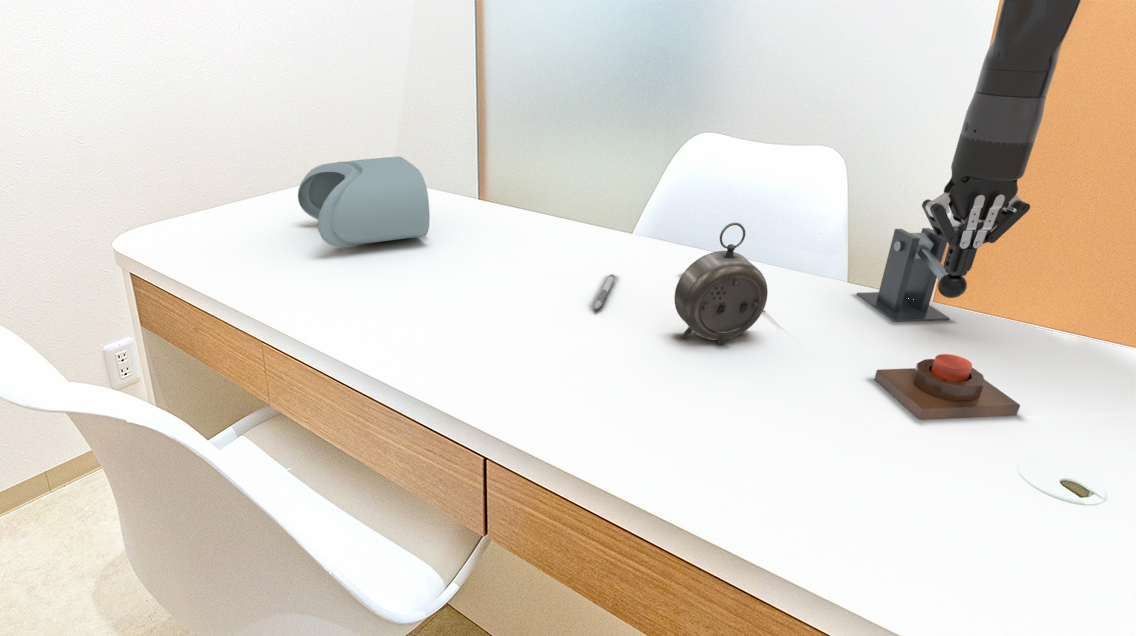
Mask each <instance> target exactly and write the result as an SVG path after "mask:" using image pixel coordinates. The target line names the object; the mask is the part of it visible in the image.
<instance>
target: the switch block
mask: <svg viewBox="0 0 1136 636" xmlns="http://www.w3.org/2000/svg"><path fill="white" fill-rule="evenodd" d="M934 359H935V358H926V359H925V358H924V359H923V360H920V361H919V362H917V363H916V365H915V367H914V368H909V367H908V368H885V369H876V372H875V375H874V378H873V380H874V381H875V382H876V383H877V384H879V385H880V386H881V387H882V388H883V389H884V390H885V391H886V392H887V393H889V395H891V396H892V397H893V398H895V400H896V401H898V402H899V403H900V404H901V405H902V406H903V407H904V408H905V409H907V411H908V412H910V413H911V414H912V415H913V416H914V417H915V418H917V420H919V421H921V420H922V421H923V420H925V421H926V420H943V419H944V420H945V419H946V420H947V419H968V418H970V419H971V418H991V417H992V418H993V417H995V418H996V417H1014V416H1017V415H1018V412H1019V410H1020V407H1021V404H1019V403H1018V402H1017V401H1016V400H1014V399H1013V398H1011V397H1010V396H1008V395H1007V394H1006V393H1004V392H1003V391H1001V390H1000V389H999V388H997V387H996V386H994V385H993V384H992V383H990V382H989V381H988V380H987V379H985V378H984V374H983V373H981V372H980V371H979V370H977V369H975V368H974V367H972V369H971V372H970V375H969V378H968V380H967V381H959V382H958V381H952V380H947V379H943V378H941V377H938V376H936V375H934V374H933V373H932V372H931V369H932V366H933V363H934Z"/></svg>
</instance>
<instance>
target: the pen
mask: <svg viewBox="0 0 1136 636" xmlns="http://www.w3.org/2000/svg"><path fill="white" fill-rule="evenodd" d="M614 281H615V275H614V274H610V275H609V276H608V277H607V279H606V281H605V283H604V285H603V287H602V289H601V291H600V292H599V294H598V296H597V298H596V300H595V303H594V309H595V310H599V309H601V307H602V306H603V304H604V301H605V300H606V297H607V296H608V294H609V292H610V291H611V290H612V287H613V285H614Z"/></svg>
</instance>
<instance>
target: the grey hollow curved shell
mask: <svg viewBox="0 0 1136 636" xmlns="http://www.w3.org/2000/svg"><path fill="white" fill-rule="evenodd" d="M297 201H298V203H299V206H300V207H301V209H302V211H303V212H304V213H305V214H307V215H308V216H310V217H311V218H313V219H315V220H317V229H318V233H319V235H320V237H321V239H322V240H323V242H324V243H326V244H327V245H330V246H334V247H338V248H352V247H358V246H363V245H365V244H374V243H381V242H388V241H394V240H395V241H396V240H397V241H398V240H403V239H404V240H405V239H413V238H421V237H427V235H428V234H429V229H430V216H431V215H430V201H429V192H428V188H427V184H426V181H425V179H424V176H423V174H422V172H421V171H420V169H419V168H418V167H416V166H415V165H414V164H412V163H411V162H410V161H408V160H407V159H405V158H404V157H402V156H387V157H376V158H365V159H364V158H363V159H354V160H348V161H337V162H330V163H329V162H328V163H324V164H320V165H317V166H315V167H314V168H312V169H310V170H309V172H307V173H306V175H304V177H303V179H302V181H300V184H299V187H298V191H297Z"/></svg>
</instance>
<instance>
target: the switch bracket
mask: <svg viewBox="0 0 1136 636" xmlns="http://www.w3.org/2000/svg"><path fill="white" fill-rule="evenodd" d="M911 233H912V232H909V231H906V229H903V228H894V231H893V235H892V238H891V242H890V245H889V246H890V247H889V251H888V254H887V259H886V262H885V267H884V270H883V274H882V278H881V281H880V286H879V289H878V291H874V292H873V291H871V292H870V291H869V292H857V293H856V296H857V297H858V298H860V299H862V300H863V301H864V302H865V303H867V304H868V305H870V306H871V307H872V308H874V309H875V310H876V311H878V312H879V313H880V314H882V315H883V316H884V317H886V318H887V319H889V320H890V321H891V322H893V323H912V322H914V323H915V322H941V321H943V322H944V321H945V322H946V321H950V320H951V318H950V317H949V316H947V315H946V314H944V313H943V312H941V311H940V310H938V309H936V308H935V307H933V306H932V305H931V304H930V302H931V299H932V296H933V292H934V290H935V289H934V288H935V285H936V282H937V279H938V278H937V277H936V275H935V274H934V273H933V272H932V271H931V270H930V268H929V267H928V266H927V265H926V264H925V262H924V261H923V260H922V259H914V258H915V255H916V251H917V247H918V244H919V240H920V238H918V237H916V236H914V235H913V234H911ZM920 233H925V234H926V236H927V237H928V238H929V239H930V240H931V241H932V242H933V243H934V245H933V247H932V249H931V253H932V254H933V255H934V256H935V257H936V258H937V259H938V261H939V262H940V263H941V264H942V261H943V258H944V256H945V255H944V254H945V251H946V247H947V244H948V242H946V241H944V240H942V239H940V238H938V237H937V236H936V234H935V232H934V230H933V228H930V227H922V228H921V232H920ZM908 298H909V299H908ZM913 299H914V300H913Z"/></svg>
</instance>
